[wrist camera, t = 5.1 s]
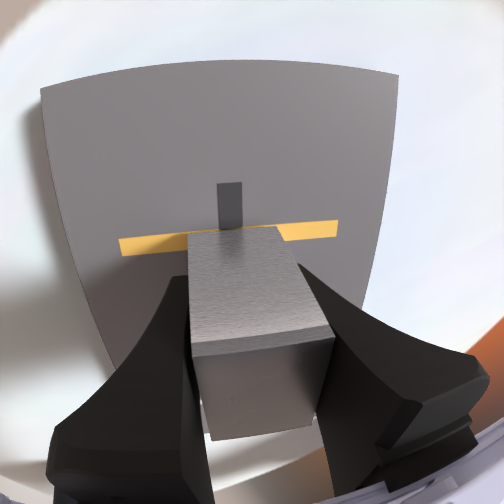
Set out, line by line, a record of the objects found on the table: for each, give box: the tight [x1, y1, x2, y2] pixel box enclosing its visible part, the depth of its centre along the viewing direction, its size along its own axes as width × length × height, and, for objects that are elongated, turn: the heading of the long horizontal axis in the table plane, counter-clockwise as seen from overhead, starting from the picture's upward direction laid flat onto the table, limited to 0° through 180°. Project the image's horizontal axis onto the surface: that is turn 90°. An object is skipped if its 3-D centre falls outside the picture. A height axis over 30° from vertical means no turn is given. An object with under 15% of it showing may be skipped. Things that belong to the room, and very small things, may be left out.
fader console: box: [40, 60, 399, 433], centre depth 14 cm, size 20×12×2 cm, turn 0°
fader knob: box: [188, 226, 335, 441], centre depth 10 cm, size 4×3×5 cm
